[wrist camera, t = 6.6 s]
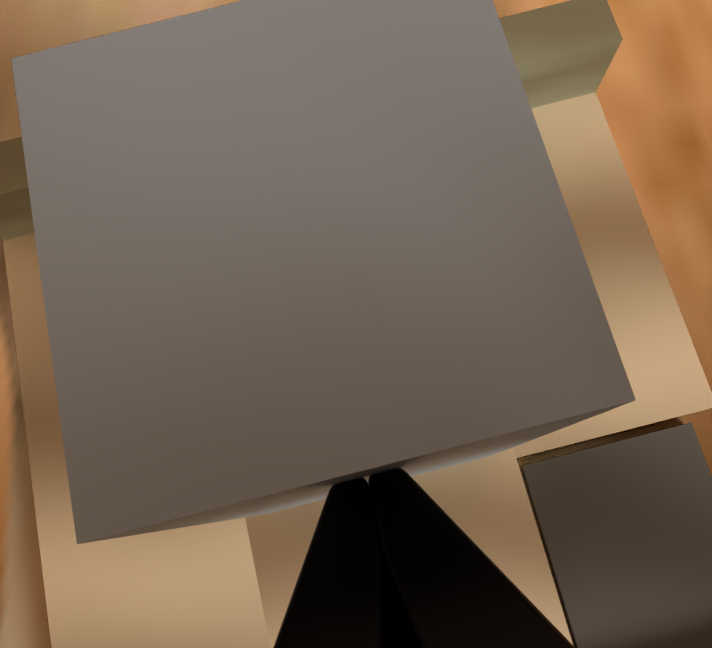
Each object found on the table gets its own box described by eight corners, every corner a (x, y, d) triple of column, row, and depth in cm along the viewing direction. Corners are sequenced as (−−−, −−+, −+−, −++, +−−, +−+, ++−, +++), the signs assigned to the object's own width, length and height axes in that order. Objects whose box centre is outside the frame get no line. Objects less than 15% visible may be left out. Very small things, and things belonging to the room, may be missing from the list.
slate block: (489, 456, 15) (636, 399, 6) (266, 513, 15) (77, 544, 6) (427, 246, 16) (471, -57, 7) (221, 299, 16) (10, 57, 7)
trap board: (901, 965, 13) (1061, 1113, 10) (145, 1166, 13) (67, 1379, 10) (567, 78, 18) (603, -8, 15) (23, 214, 18) (-54, 156, 15)
